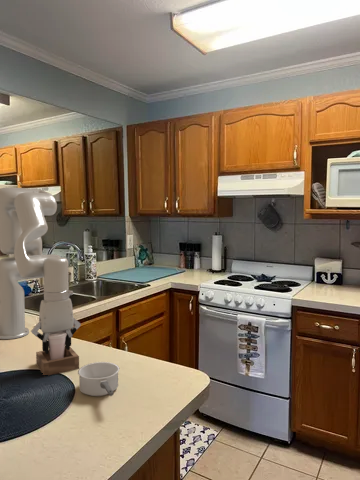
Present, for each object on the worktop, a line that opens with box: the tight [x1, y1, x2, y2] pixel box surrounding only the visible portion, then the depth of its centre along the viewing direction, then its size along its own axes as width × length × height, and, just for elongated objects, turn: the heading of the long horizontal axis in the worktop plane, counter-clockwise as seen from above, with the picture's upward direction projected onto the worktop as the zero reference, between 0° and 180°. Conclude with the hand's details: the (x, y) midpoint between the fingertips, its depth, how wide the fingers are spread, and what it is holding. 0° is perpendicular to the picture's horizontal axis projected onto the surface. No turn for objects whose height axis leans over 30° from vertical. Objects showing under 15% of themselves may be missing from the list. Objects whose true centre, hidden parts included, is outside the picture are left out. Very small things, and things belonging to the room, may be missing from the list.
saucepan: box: [77, 361, 120, 397], centre depth 98 cm, size 12×20×6 cm, turn 25°
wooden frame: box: [35, 346, 80, 376], centre depth 117 cm, size 11×11×4 cm
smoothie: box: [47, 330, 67, 360], centre depth 117 cm, size 6×6×14 cm
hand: (57, 350), depth 117 cm, fingers closed on smoothie, 6 cm apart
